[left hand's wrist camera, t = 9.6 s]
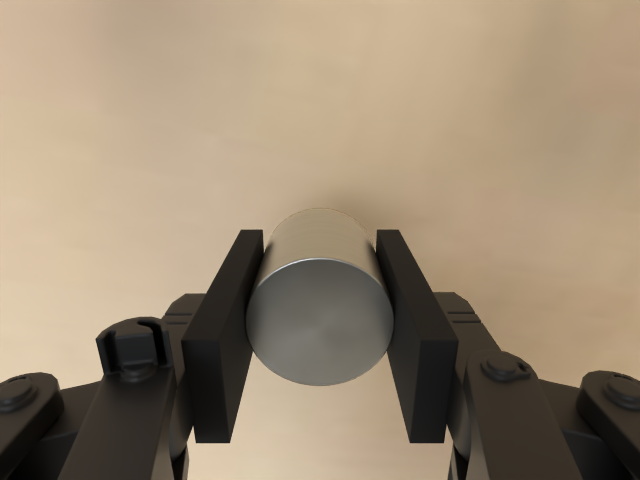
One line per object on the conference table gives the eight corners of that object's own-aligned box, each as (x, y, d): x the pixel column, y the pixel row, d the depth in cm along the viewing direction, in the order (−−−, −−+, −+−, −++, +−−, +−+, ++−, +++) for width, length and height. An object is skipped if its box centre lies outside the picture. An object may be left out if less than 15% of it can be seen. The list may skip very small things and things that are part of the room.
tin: (352, 190, 14) (365, 234, 10) (389, 287, 15) (414, 360, 11) (246, 232, 14) (217, 289, 10) (291, 321, 16) (281, 403, 12)
